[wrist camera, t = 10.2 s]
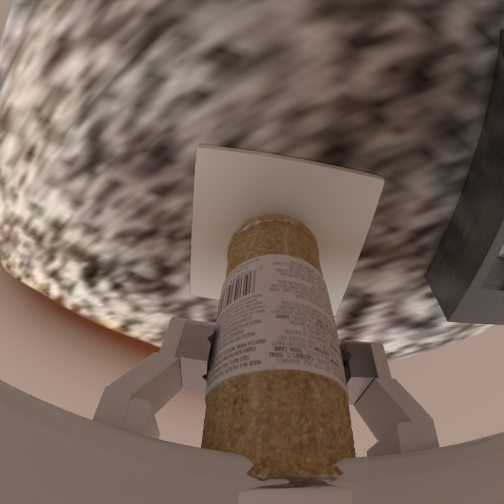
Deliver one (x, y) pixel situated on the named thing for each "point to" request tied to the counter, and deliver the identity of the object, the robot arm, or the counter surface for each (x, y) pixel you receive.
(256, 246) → the sprinkles bottle
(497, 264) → the grey open box
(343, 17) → the counter surface
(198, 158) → the plate
